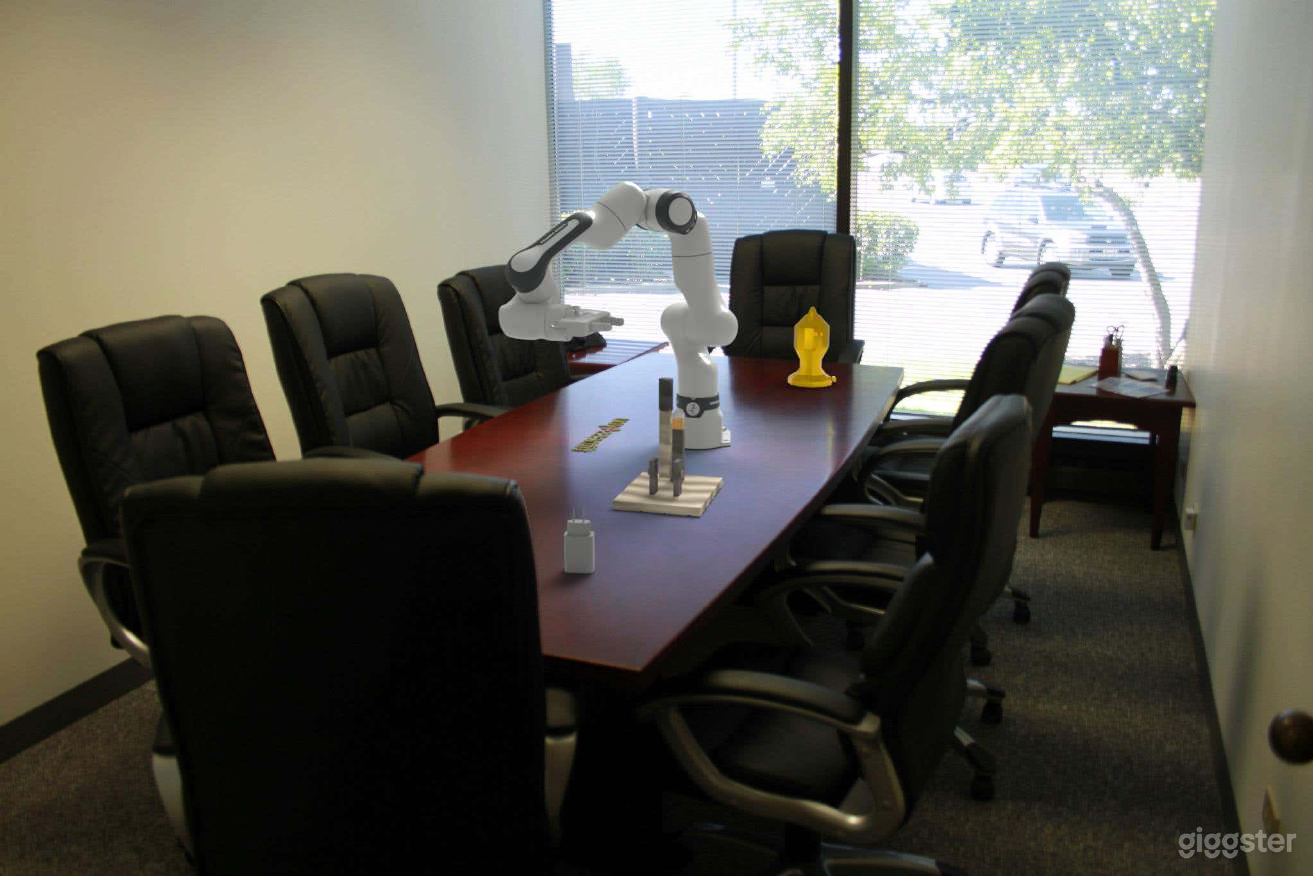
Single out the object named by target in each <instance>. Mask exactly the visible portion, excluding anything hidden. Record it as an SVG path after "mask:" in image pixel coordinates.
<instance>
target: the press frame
mask: <svg viewBox="0 0 1313 876" xmlns="http://www.w3.org/2000/svg"><path fill="white" fill-rule="evenodd" d="M685 450H686V448H685V422H684V429H683V430H681V429H672V476H671V477H670V478H669V479H668V478H659V456H658V457H656V456H653V457H651V458H650V459H649V461H648V462H649V463H648V468H647V471H642V472H641V473H640V474H639V475H638V476H636V477H635V479H634V480H632V481H631V483H629V484H628V486H626V488H624V489H623V490H622V491H621V492H620V493H619V494H618V495H617V496H616V497H615V498H614V499H613V500H612V509H613V510H618V511H619V510H620V511H629V512H630V511H631V512H640V511H642V512H641V513H651V514H652V513H655V514H664V513H665V514H666V515H677V516H678V515H679V516H687V515H691V517H698V518H699V517H701V516H702V515H703V514H704V513H705V511H706V510H707V509H708V507H709V506H708V505H710V504H711V503H710V502H712V501H713V500H714V498H715V497H716V496H717V494H718V493H719V491H720V490H721V489H722V487H723V486H722V485H724V484H723V481H724V478H723V477H719V476H705V475H692V474H691V475H690V474H685V470H686V469H685V468H686V467H685V462H686V460H685V458H686V457H685V454H686V453H685V452H686V451H685ZM721 486H722V487H721ZM720 488H721V489H720ZM719 489H720V490H719ZM717 492H718V493H717ZM715 495H716V496H715ZM714 496H715V497H714ZM712 499H713V500H712ZM709 503H710V504H709ZM707 506H708V507H707ZM705 509H706V510H705ZM703 512H704V513H703ZM702 513H703V514H702ZM665 514H664V515H665Z"/></svg>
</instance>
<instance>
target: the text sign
mask: <svg viewBox="0 0 1313 876" xmlns="http://www.w3.org/2000/svg"><path fill="white" fill-rule="evenodd" d="M629 421H630V418H624V417H623V418H621V417H615V418H613V419H612V420H611V421H608V425H607V424H605V425H604V424H602V425H601V424H600V425H598V428H600V430H596V431H595V432H594V433H592V434H591V435H590V436H588V437H586V439H584V440H583V442H582V441H581V442H580V443H578V444H577V445H575V446H574V448H571V449H570V451H571V452H579V451H584V452H583V453H588V452H587V451H594V452H596V450H597V449H598V445H599V442H602V440H603V441H604V439H606V438H608V436H610V435H612V433H613V432H621V430H622V428H620V427H622V426H624V425H625V424H626V423H628V422H629ZM595 436H596V437H595ZM590 438H592V439H590ZM598 441H599V442H598ZM586 442H593V443H586ZM582 444H585V445H582ZM596 444H597V445H596ZM595 445H596V446H595ZM592 447H593V448H592ZM594 447H595V448H594ZM575 448H577V449H575ZM589 449H590V450H589ZM595 449H596V450H595Z"/></svg>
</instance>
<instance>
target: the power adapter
mask: <svg viewBox="0 0 1313 876" xmlns="http://www.w3.org/2000/svg"><path fill="white" fill-rule="evenodd" d="M575 515H576V514H575V508H572V519H568V520H566V522H567V523H566V524H567V529H566V530H565V532H564V534H563V550H564V552H563V553H564V557H563V558H564V572H565V573H567V574H568V573H569V574H570V573H571V574H593V573H594V572H595V570H596V560H595V559H596V557H595V555H596V552H595V549H596V548H595V531H592V530H591V526H592V524H591V520H588V519H585V509H584V508H583V509H582V519H578V518H577V519H576V518H575V517H576V516H575Z"/></svg>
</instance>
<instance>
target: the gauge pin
mask: <svg viewBox="0 0 1313 876" xmlns="http://www.w3.org/2000/svg"><path fill="white" fill-rule="evenodd" d="M684 417H685V413H679V414H678V415H676V416H675V417H672V429H681V430H683V429H684Z"/></svg>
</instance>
